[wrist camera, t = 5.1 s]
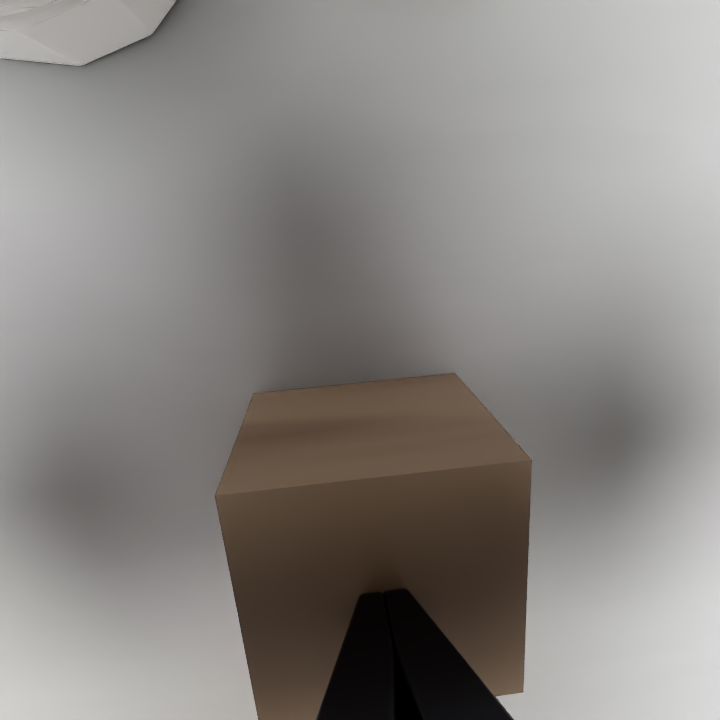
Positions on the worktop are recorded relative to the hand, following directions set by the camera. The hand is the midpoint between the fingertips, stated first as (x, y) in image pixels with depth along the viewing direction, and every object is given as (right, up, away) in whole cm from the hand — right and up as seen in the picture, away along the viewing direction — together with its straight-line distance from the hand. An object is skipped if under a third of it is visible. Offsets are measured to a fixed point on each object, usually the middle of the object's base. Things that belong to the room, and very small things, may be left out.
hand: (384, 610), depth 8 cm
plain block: (0, +1, +4) cm, 5 cm away
